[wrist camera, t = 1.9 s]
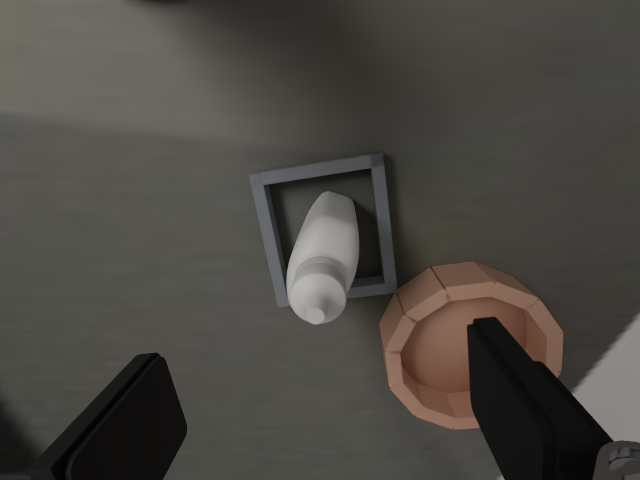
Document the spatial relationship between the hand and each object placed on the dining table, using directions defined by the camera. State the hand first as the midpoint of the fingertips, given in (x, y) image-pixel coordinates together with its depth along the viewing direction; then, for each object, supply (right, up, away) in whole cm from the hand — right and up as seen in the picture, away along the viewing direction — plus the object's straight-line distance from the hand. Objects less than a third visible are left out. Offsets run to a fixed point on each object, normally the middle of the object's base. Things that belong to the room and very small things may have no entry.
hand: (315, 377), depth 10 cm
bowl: (+11, -3, +16) cm, 19 cm away
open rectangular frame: (+1, +5, +14) cm, 15 cm away
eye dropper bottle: (+1, +5, +14) cm, 15 cm away
